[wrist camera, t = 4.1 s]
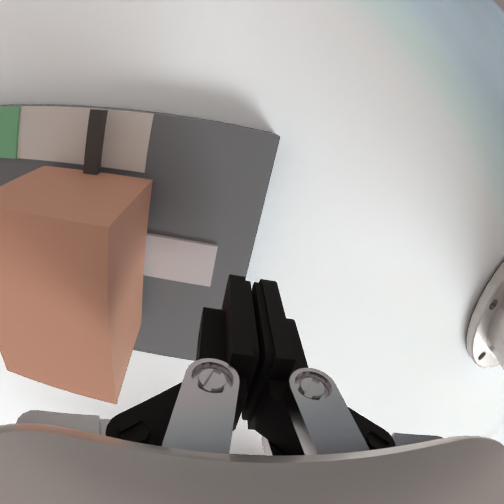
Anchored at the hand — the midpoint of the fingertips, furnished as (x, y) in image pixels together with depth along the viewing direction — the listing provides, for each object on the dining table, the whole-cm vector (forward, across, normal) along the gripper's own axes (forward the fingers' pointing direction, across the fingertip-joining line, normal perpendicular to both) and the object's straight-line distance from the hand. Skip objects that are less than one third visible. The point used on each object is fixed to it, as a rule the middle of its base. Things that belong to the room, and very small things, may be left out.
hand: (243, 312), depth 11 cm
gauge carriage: (+3, +8, -1) cm, 9 cm away
